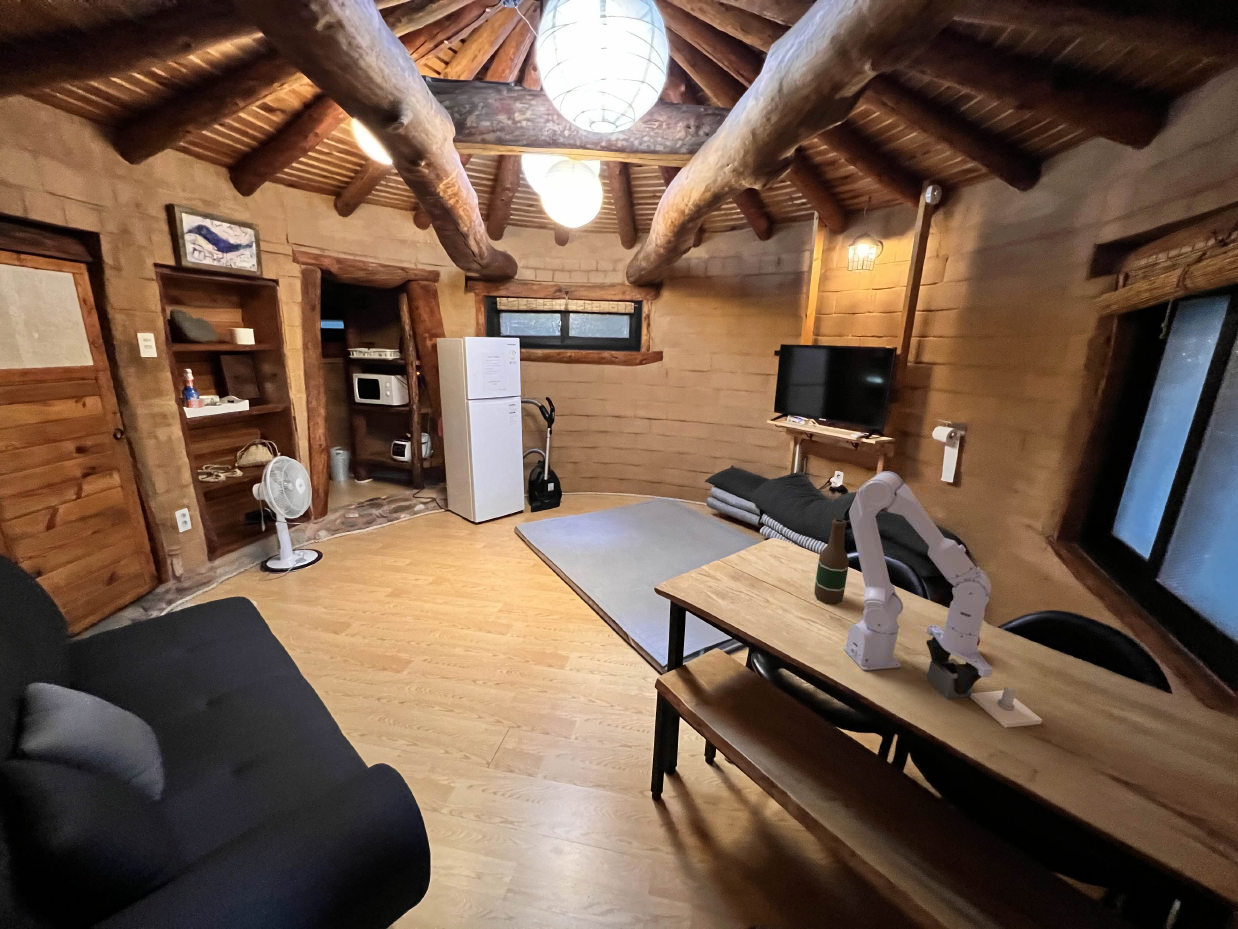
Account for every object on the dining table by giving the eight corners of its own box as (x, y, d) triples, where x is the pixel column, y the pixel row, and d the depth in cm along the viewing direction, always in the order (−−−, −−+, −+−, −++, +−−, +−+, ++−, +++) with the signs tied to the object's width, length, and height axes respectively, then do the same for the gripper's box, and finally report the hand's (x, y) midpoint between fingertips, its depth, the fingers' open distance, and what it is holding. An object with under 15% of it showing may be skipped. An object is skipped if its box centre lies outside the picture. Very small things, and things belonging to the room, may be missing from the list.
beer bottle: (844, 596, 137) (857, 519, 131) (840, 608, 131) (853, 528, 125) (816, 588, 141) (827, 513, 135) (811, 600, 135) (822, 521, 129)
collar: (946, 698, 98) (951, 678, 97) (926, 680, 104) (930, 660, 102) (970, 696, 99) (975, 676, 98) (949, 678, 104) (953, 658, 103)
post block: (1005, 727, 91) (1011, 706, 90) (970, 697, 99) (975, 677, 98) (1041, 723, 92) (1047, 702, 91) (1003, 694, 100) (1009, 674, 99)
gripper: (1012, 648, 91) (996, 706, 95) (951, 606, 105) (939, 659, 108) (980, 650, 90) (965, 709, 94) (923, 608, 104) (911, 661, 108)
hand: (949, 682), depth 101 cm, fingers closed on collar, 6 cm apart
